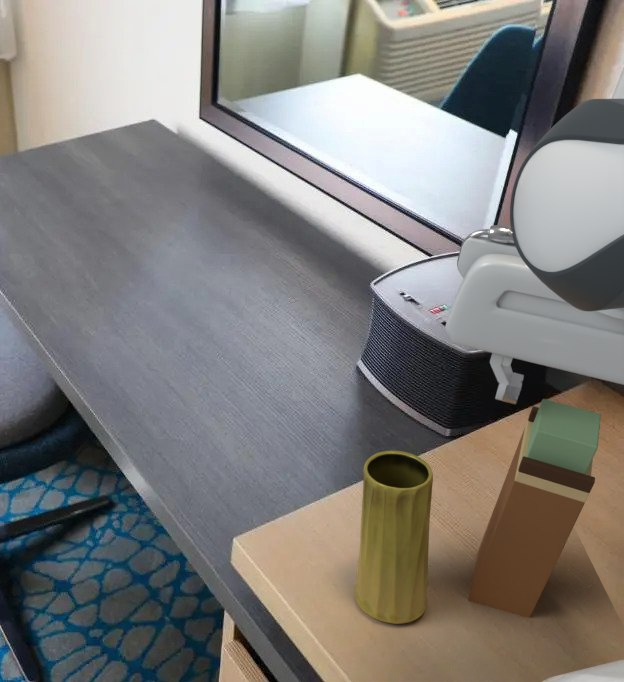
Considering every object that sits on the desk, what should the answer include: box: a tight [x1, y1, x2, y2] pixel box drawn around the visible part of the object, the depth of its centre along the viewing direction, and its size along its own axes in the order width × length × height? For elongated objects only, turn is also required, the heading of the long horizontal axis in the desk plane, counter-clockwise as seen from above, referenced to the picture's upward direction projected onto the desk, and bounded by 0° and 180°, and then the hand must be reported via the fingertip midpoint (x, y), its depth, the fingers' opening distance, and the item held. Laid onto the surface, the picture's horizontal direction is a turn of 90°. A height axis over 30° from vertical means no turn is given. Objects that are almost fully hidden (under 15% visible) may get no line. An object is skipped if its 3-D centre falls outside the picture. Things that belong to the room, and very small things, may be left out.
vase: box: [353, 450, 434, 625], centre depth 66 cm, size 6×6×14 cm
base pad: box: [467, 405, 596, 619], centre depth 65 cm, size 7×5×18 cm
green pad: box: [526, 398, 602, 474], centre depth 59 cm, size 4×4×3 cm
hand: (575, 415), depth 57 cm, fingers open, 8 cm apart
